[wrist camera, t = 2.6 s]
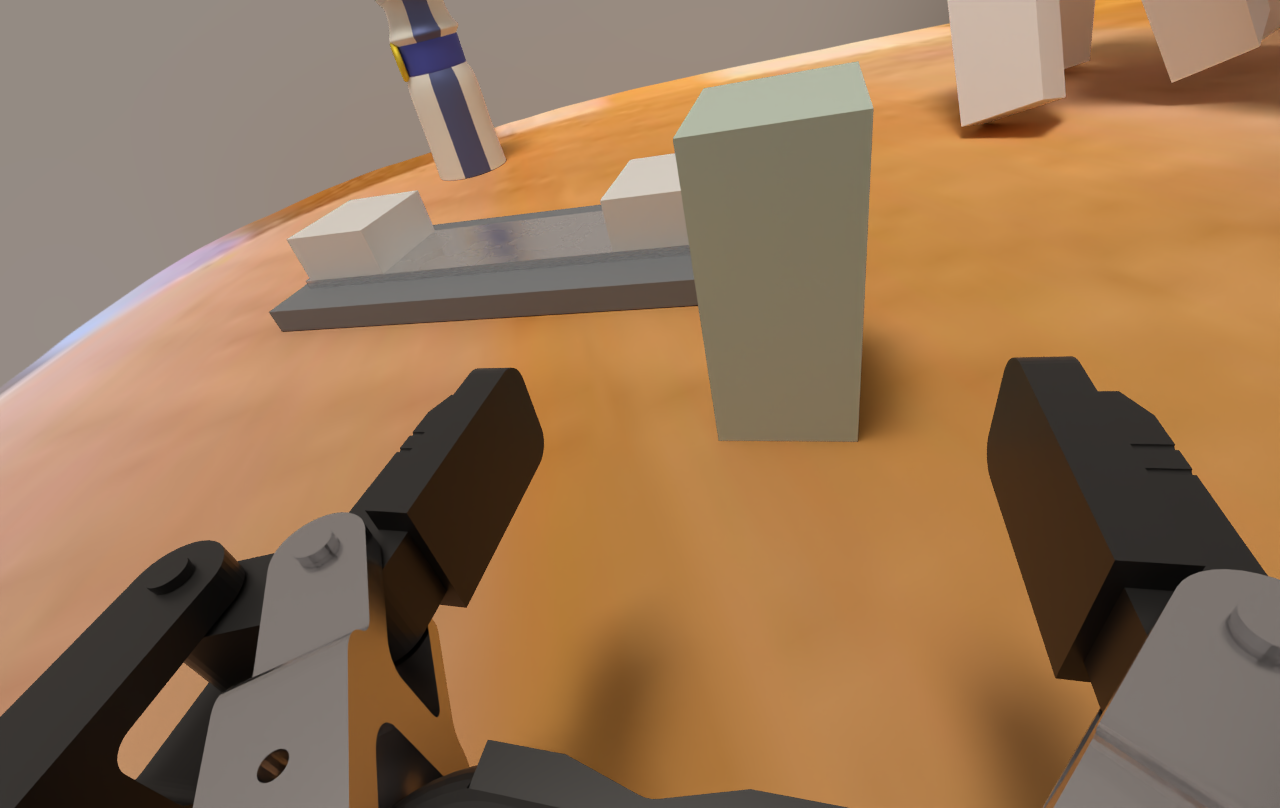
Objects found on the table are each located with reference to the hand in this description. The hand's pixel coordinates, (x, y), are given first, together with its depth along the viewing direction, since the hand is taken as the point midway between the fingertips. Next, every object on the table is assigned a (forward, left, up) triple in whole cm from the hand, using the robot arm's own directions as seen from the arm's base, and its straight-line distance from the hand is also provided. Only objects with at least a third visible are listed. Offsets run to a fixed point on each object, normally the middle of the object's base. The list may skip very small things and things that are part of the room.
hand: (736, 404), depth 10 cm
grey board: (+18, -25, -9) cm, 32 cm away
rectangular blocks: (+18, -26, -6) cm, 32 cm away
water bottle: (+36, -53, -9) cm, 65 cm away
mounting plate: (+18, -25, -7) cm, 32 cm away
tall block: (0, -11, -9) cm, 14 cm away
